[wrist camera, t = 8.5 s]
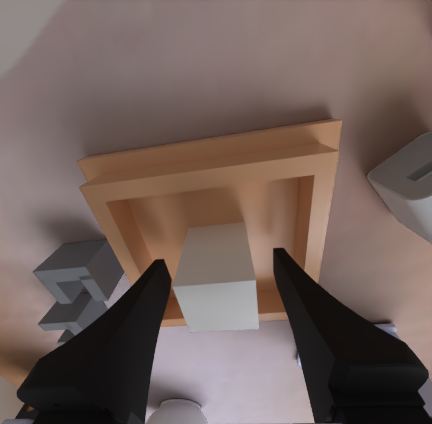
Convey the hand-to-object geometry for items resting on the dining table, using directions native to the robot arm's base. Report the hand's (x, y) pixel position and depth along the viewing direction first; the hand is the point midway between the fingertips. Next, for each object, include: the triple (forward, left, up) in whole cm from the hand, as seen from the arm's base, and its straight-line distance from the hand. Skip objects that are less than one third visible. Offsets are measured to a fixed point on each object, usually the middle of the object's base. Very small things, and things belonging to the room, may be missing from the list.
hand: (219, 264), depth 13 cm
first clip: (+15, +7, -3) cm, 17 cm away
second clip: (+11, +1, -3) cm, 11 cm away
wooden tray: (0, 0, -3) cm, 3 cm away
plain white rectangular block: (0, 0, -2) cm, 2 cm away
